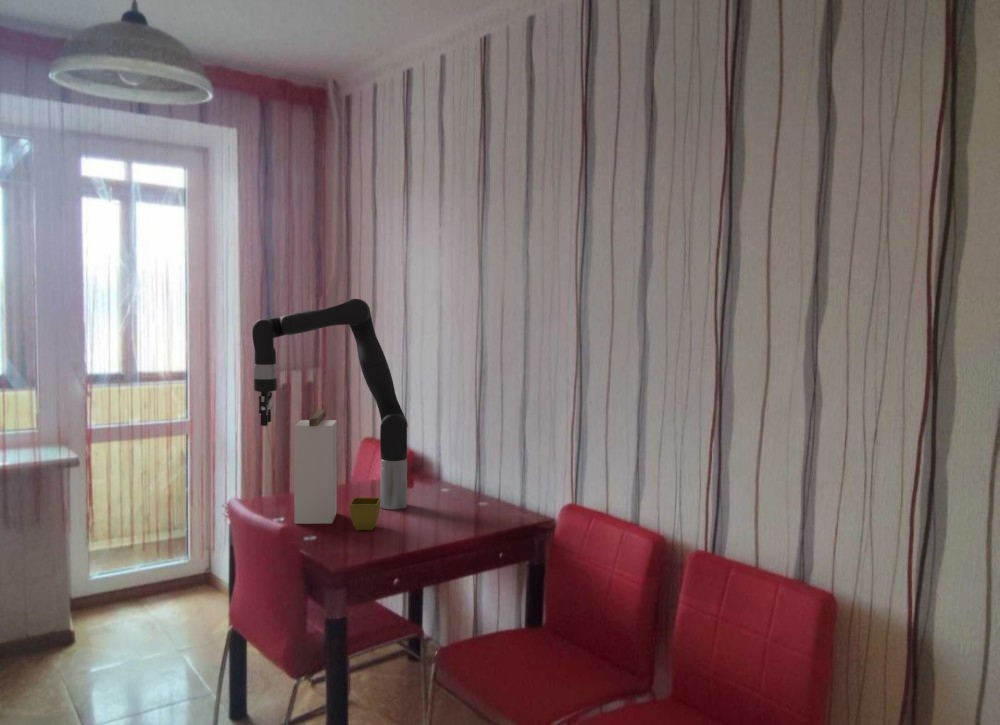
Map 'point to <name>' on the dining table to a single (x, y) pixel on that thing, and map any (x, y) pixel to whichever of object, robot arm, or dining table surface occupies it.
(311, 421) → the walnut bar
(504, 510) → the dining table surface
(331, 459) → the off-white column
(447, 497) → the dining table surface
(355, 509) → the flower pot
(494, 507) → the dining table surface
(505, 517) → the dining table surface
